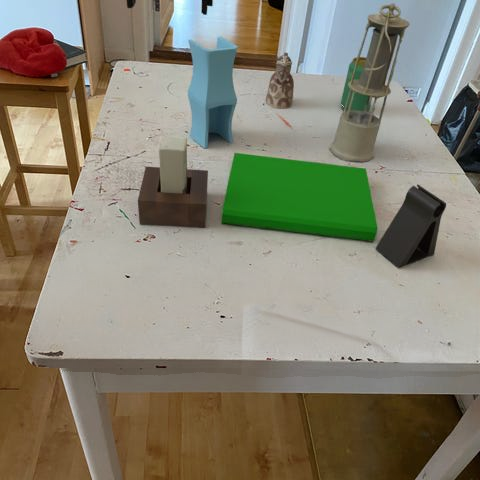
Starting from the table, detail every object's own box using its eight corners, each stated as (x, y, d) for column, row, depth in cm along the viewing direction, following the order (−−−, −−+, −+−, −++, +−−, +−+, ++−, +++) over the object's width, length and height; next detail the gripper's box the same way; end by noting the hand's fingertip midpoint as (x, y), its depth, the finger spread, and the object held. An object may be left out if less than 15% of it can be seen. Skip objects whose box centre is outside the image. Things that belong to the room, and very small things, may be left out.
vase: (216, 128, 114) (220, 36, 100) (233, 142, 110) (240, 47, 96) (187, 134, 111) (187, 39, 97) (204, 148, 107) (207, 51, 92)
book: (233, 165, 102) (234, 152, 100) (362, 181, 102) (365, 168, 100) (221, 224, 87) (222, 210, 84) (373, 243, 87) (378, 229, 84)
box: (185, 217, 87) (184, 151, 78) (161, 215, 87) (158, 149, 78) (187, 201, 91) (187, 137, 82) (164, 199, 91) (162, 134, 82)
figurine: (262, 105, 127) (268, 56, 118) (269, 96, 131) (275, 48, 123) (288, 110, 125) (296, 61, 117) (294, 101, 130) (301, 53, 122)
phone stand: (410, 237, 89) (434, 179, 80) (433, 255, 85) (461, 197, 77) (374, 249, 85) (395, 190, 77) (397, 268, 82) (422, 209, 73)
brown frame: (139, 224, 85) (137, 200, 81) (147, 189, 93) (145, 166, 89) (205, 228, 86) (206, 204, 82) (207, 193, 94) (208, 170, 90)
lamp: (375, 147, 114) (419, 2, 93) (369, 171, 106) (416, 17, 84) (333, 138, 116) (367, -7, 94) (324, 161, 107) (358, 7, 86)
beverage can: (366, 117, 127) (379, 69, 118) (337, 111, 128) (348, 63, 119) (370, 106, 132) (383, 60, 123) (342, 100, 133) (352, 54, 125)
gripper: (73, -189, 47) (96, 10, 59) (245, -169, 48) (233, 22, 61) (88, -187, 52) (107, -4, 65) (243, -169, 54) (232, 7, 66)
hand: (168, 8), depth 63 cm, fingers open, 9 cm apart
